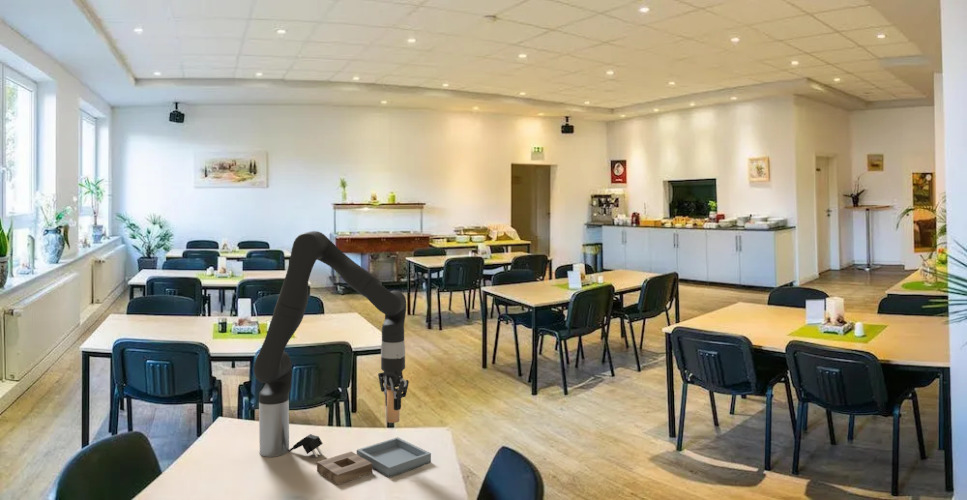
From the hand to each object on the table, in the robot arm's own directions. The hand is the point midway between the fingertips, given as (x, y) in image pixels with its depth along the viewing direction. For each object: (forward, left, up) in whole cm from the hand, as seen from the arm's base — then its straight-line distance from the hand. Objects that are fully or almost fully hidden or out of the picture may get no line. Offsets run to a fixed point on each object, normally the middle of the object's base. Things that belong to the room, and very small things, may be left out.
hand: (393, 407), depth 193 cm
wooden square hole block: (-3, -16, -18) cm, 24 cm away
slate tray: (0, 0, -17) cm, 17 cm away
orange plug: (0, 0, -4) cm, 4 cm away
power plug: (-24, -18, -18) cm, 35 cm away
